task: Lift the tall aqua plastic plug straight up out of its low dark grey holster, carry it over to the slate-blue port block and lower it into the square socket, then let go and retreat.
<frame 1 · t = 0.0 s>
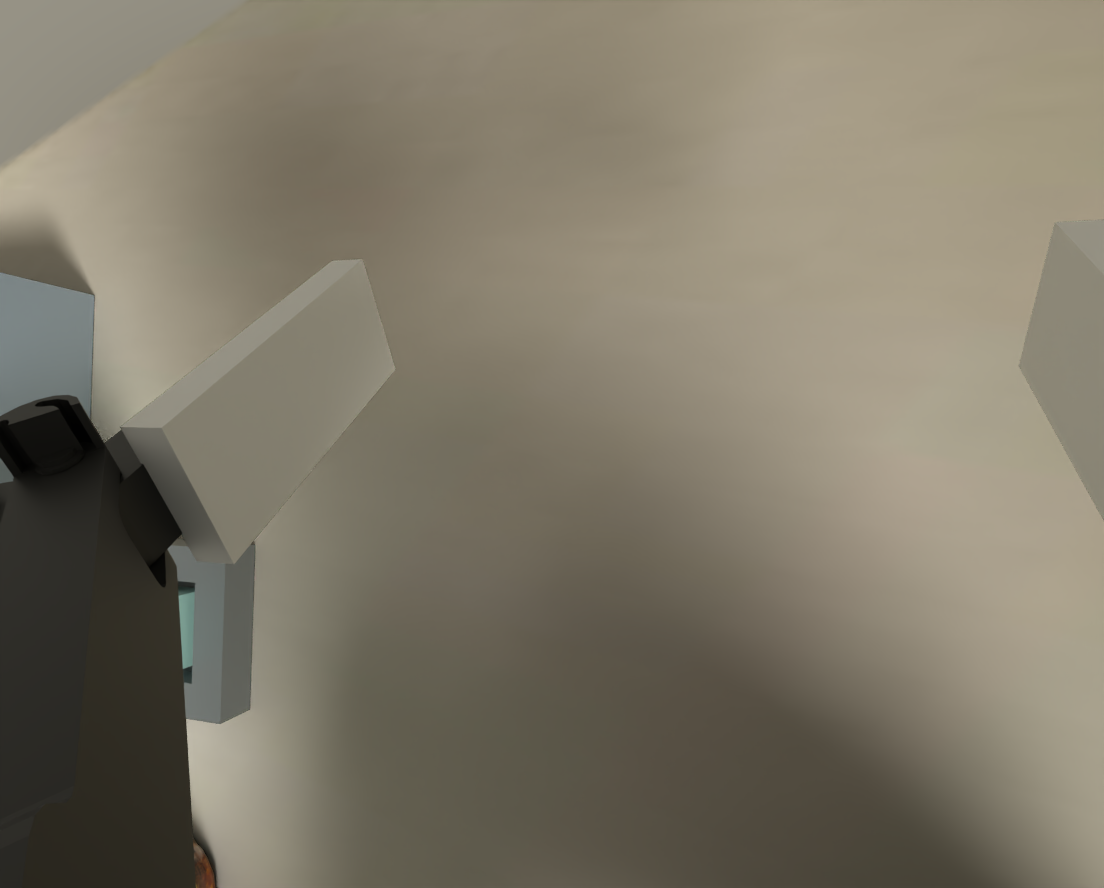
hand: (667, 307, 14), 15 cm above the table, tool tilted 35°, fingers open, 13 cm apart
sauce bottle: (179, 877, 36), on the table
plug: (177, 621, 36), resting on holster
holster: (184, 619, 36), on the table
port: (12, 398, 40), on the table
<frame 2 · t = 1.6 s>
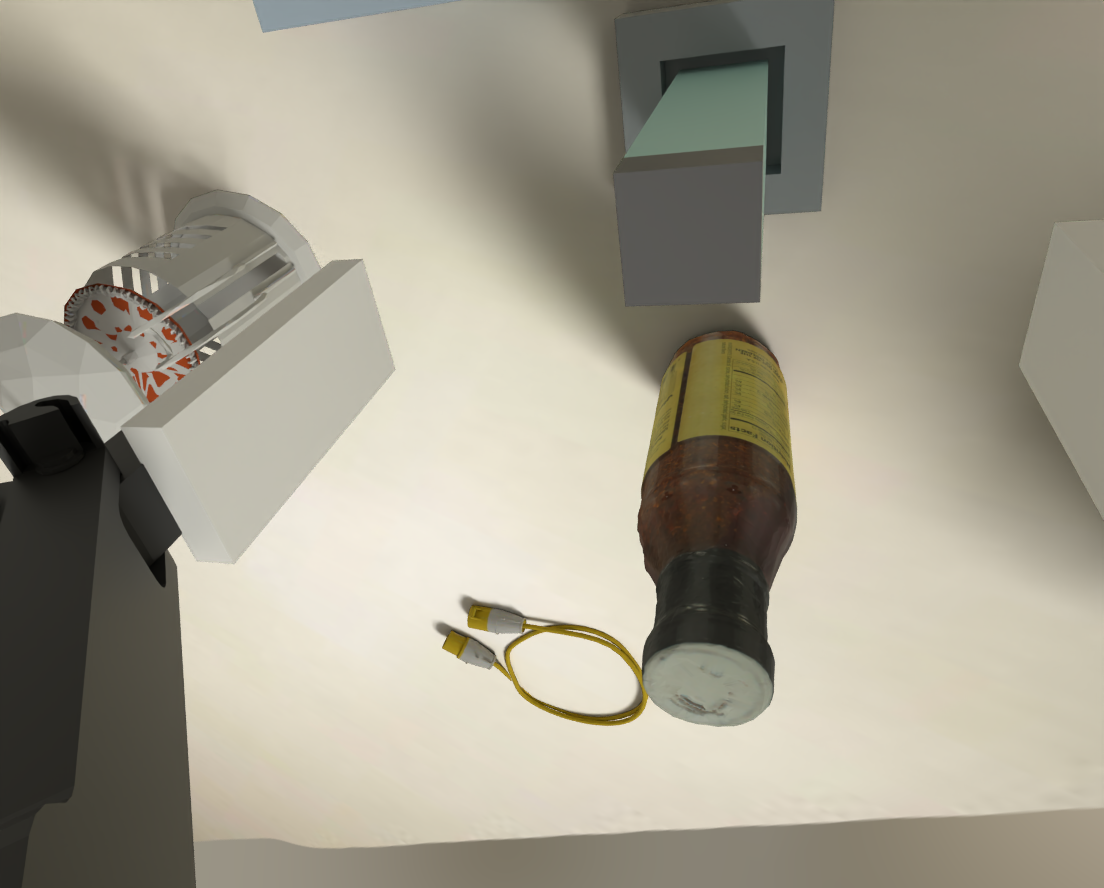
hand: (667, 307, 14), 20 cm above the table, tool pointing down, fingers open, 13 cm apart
french press: (261, 269, 41), on the table
sauce bottle: (727, 373, 38), on the table
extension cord: (556, 653, 56), on the table
plug: (723, 110, 30), resting on holster
holster: (724, 108, 31), on the table
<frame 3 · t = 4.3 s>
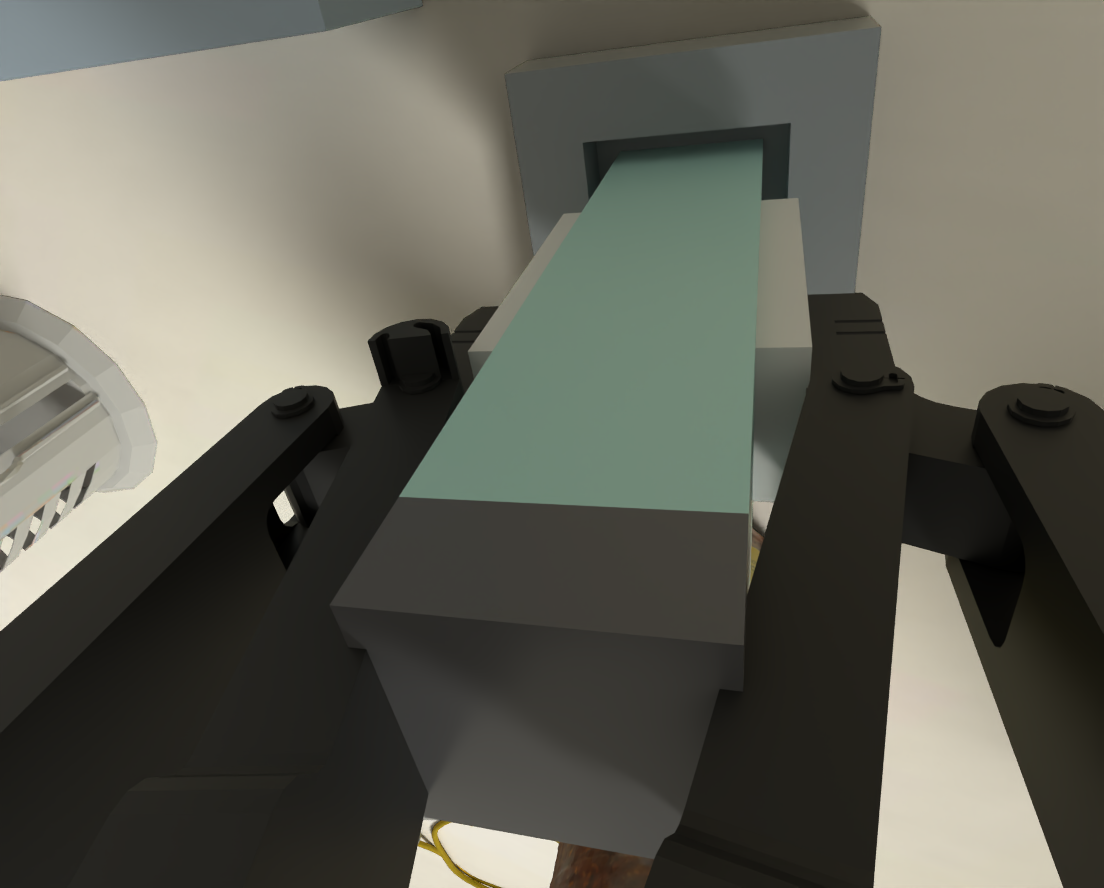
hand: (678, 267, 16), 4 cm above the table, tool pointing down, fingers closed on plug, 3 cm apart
french press: (64, 392, 30), on the table
sauce bottle: (704, 557, 27), on the table
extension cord: (494, 832, 45), on the table
plug: (692, 215, 19), point 1 cm above the table, touching gripper
holster: (693, 208, 19), on the table
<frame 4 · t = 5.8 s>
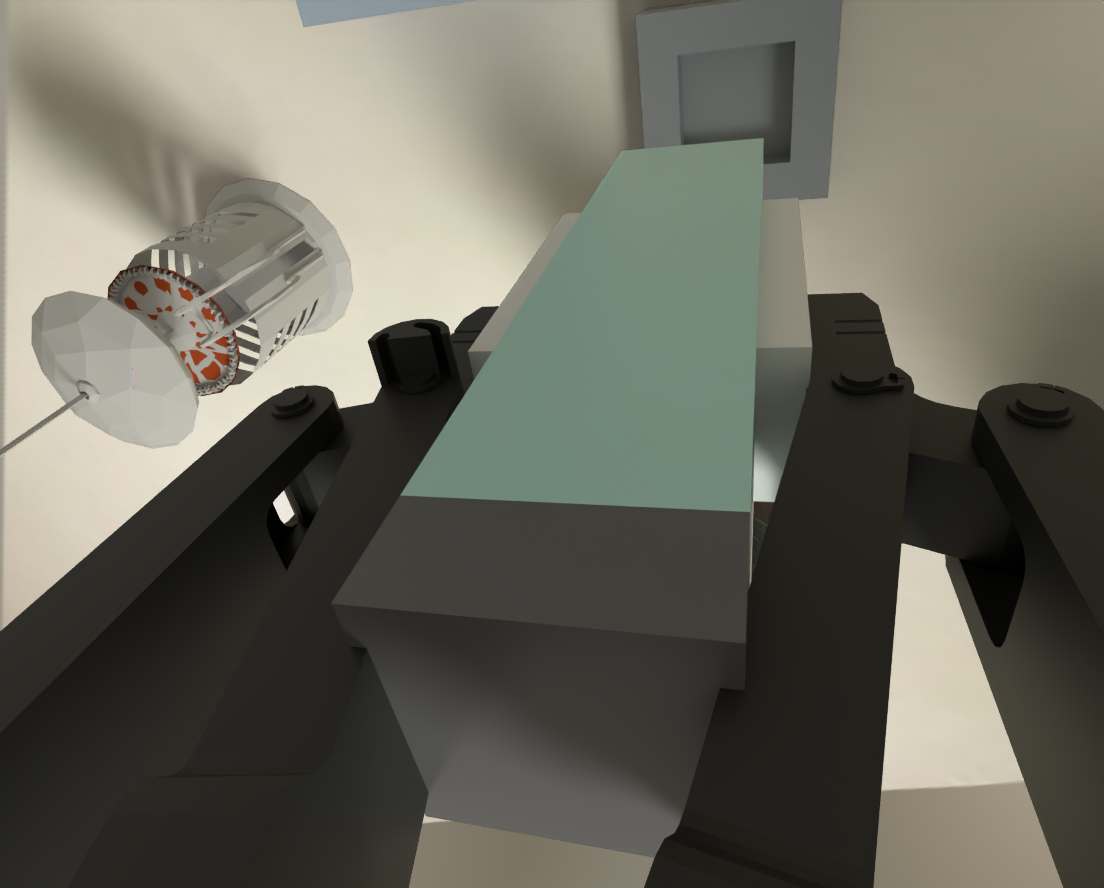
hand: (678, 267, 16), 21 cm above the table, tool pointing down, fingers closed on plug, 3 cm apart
french press: (289, 255, 43), on the table
sauce bottle: (736, 354, 40), on the table
plug: (692, 214, 19), point 17 cm above the table, touching gripper
holster: (736, 100, 32), on the table
when the fingers open (6 cm above the table, at t = 9.5 s): plug drops 2 cm, resting on port.
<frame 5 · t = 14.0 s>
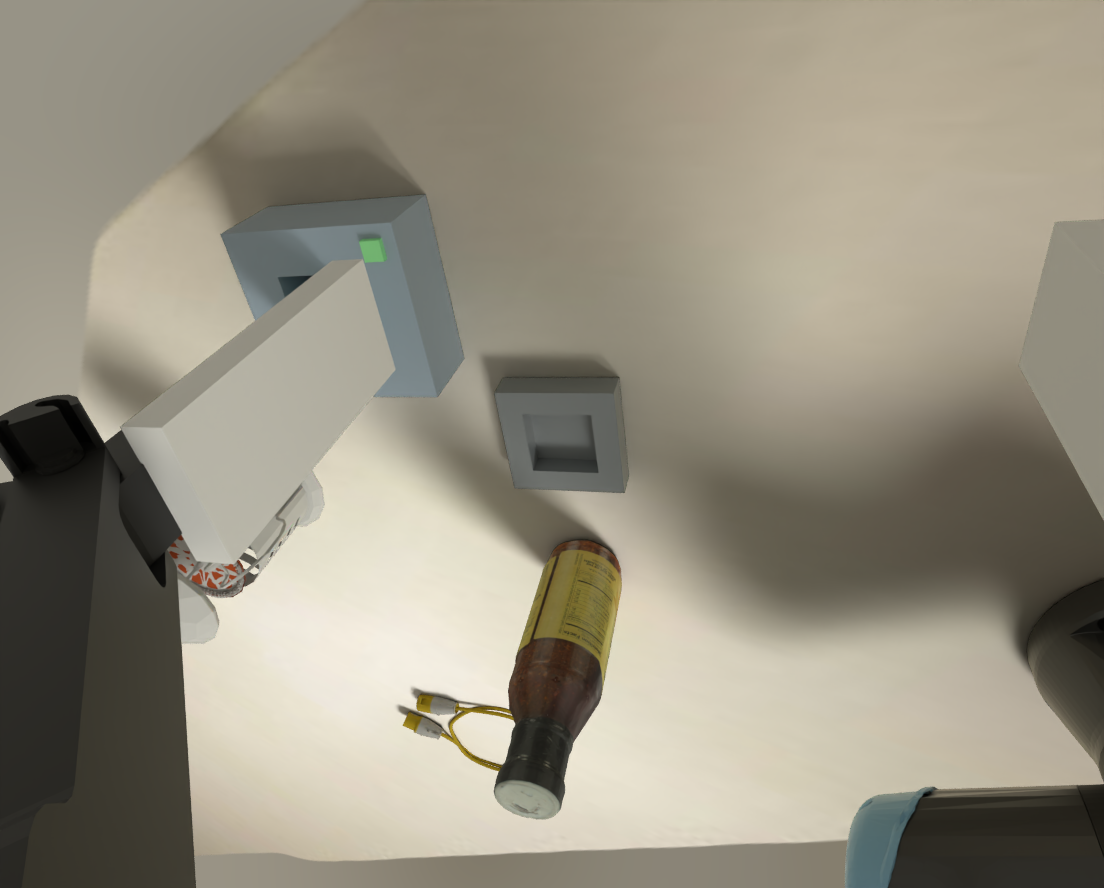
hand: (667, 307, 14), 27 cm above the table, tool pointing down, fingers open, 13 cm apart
french press: (279, 479, 61), on the table
sauce bottle: (588, 561, 58), on the table
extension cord: (485, 725, 76), on the table
holster: (567, 427, 50), on the table
port: (369, 285, 47), on the table
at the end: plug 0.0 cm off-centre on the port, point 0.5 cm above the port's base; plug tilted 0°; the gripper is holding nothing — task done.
